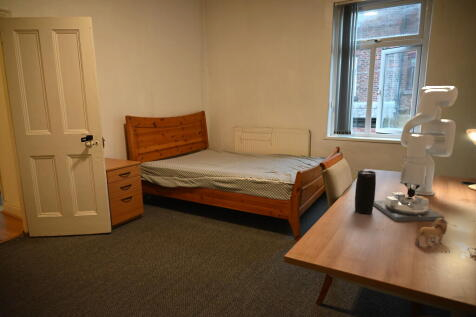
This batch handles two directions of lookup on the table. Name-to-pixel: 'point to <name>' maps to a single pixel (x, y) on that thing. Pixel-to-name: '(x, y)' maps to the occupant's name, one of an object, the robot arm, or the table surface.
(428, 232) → the lion figurine
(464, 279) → the table surface
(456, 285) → the table surface
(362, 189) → the portable speaker
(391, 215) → the grey square base plate
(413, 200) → the silver hub plate
